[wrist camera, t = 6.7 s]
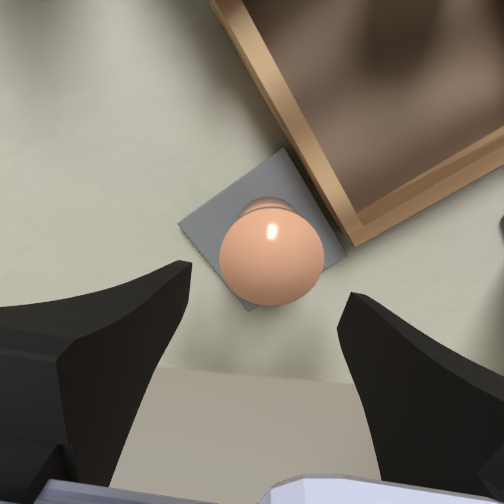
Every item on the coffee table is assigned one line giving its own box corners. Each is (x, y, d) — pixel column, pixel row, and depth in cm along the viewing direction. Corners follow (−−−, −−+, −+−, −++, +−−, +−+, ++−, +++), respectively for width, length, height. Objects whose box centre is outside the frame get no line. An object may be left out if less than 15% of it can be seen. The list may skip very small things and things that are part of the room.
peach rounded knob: (318, 243, 18) (341, 279, 13) (254, 275, 19) (252, 320, 14) (284, 177, 17) (294, 189, 11) (216, 216, 18) (198, 243, 13)
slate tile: (344, 251, 19) (347, 255, 18) (248, 305, 21) (248, 311, 21) (282, 147, 17) (284, 147, 16) (180, 220, 19) (177, 223, 18)
